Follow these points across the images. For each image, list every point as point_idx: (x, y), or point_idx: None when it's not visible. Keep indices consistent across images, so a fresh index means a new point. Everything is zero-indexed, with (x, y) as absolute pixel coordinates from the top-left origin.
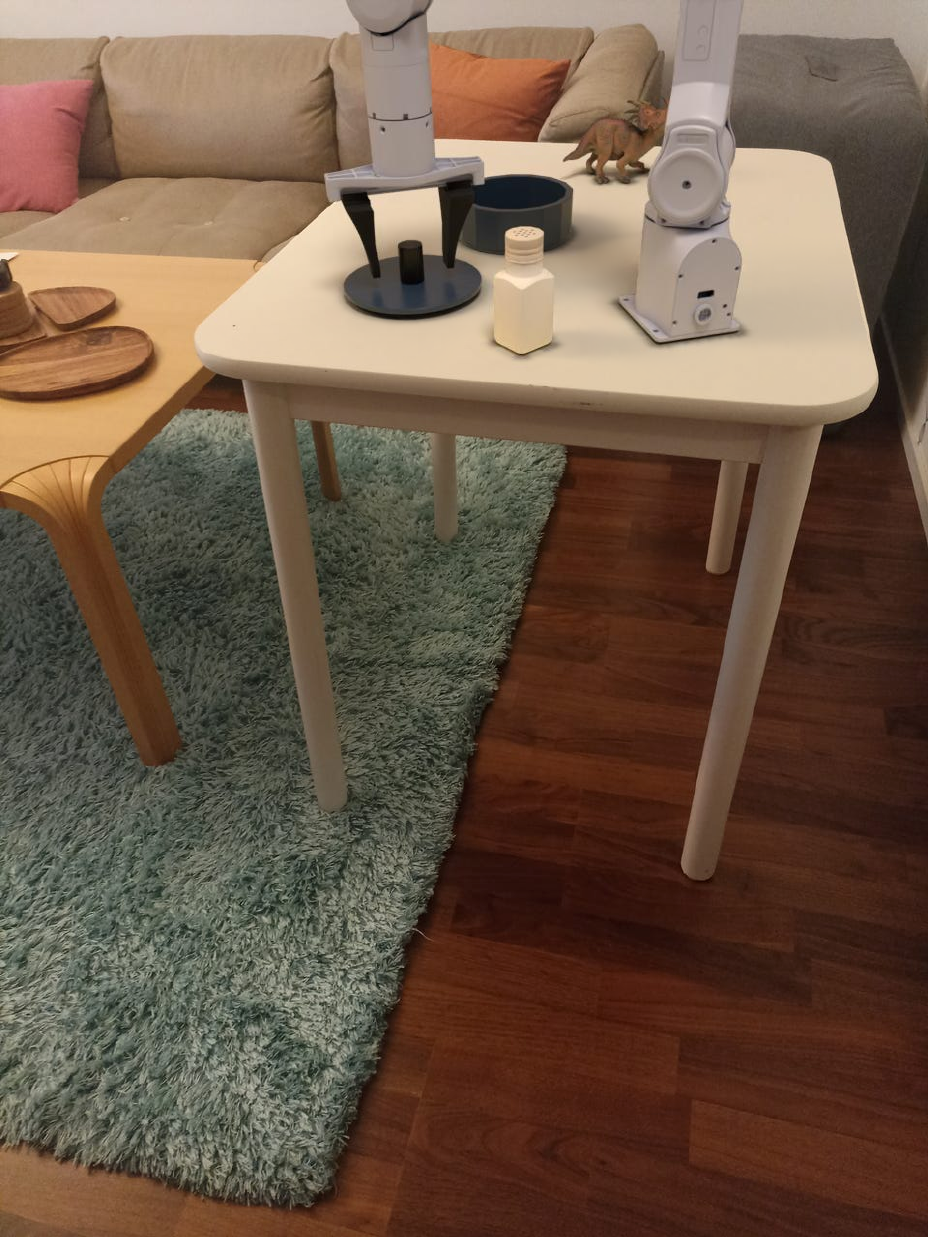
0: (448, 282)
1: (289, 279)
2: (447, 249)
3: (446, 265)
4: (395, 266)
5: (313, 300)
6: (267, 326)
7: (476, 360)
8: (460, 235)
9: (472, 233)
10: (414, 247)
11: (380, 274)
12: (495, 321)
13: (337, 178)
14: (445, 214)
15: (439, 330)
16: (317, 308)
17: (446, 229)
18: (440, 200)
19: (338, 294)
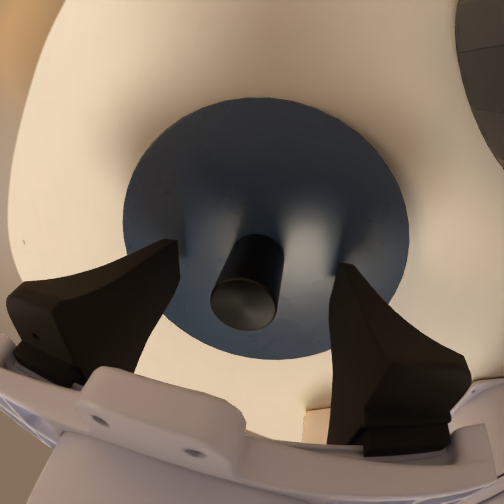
0: (322, 298)
1: (58, 102)
2: (332, 330)
3: (331, 294)
4: (240, 164)
5: (88, 205)
6: (51, 261)
7: (271, 420)
8: (460, 32)
9: (483, 95)
10: (247, 330)
11: (177, 286)
12: (302, 434)
13: (9, 415)
14: (344, 380)
15: (257, 371)
16: (95, 237)
17: (341, 352)
18: (367, 356)
19: (123, 197)
